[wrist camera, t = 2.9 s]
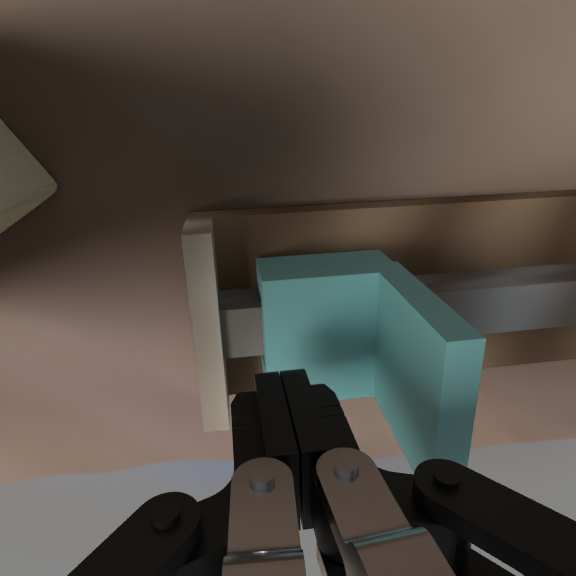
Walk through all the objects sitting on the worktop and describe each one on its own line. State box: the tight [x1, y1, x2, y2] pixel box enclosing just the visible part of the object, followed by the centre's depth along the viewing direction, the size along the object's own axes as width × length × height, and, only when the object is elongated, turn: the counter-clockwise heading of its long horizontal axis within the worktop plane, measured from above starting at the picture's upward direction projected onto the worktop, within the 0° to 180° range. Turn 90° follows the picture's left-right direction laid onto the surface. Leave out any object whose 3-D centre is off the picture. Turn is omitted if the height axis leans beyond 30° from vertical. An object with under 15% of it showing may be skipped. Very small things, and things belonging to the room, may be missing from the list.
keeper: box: [256, 250, 486, 471], centre depth 15 cm, size 5×5×8 cm
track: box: [181, 190, 576, 433], centre depth 18 cm, size 20×8×6 cm, turn 92°
